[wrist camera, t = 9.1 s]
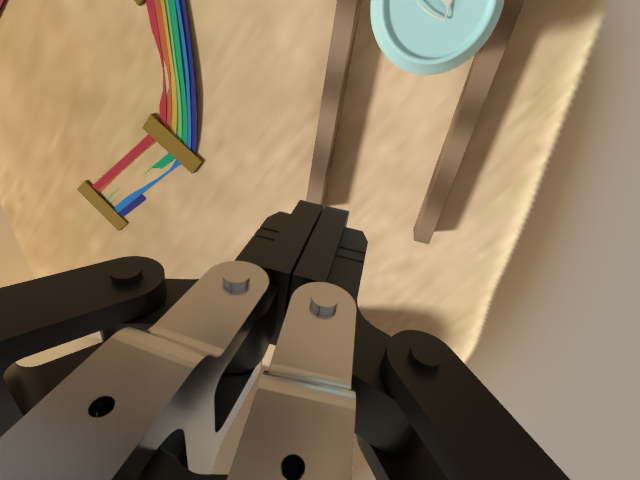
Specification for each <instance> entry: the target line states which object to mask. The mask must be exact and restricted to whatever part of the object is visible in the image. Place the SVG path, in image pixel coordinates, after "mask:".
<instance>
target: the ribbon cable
mask: <svg viewBox="0 0 640 480" xmlns="http://www.w3.org/2000/svg"><path fill="white" fill-rule="evenodd" d="M3 1H4V0H0V7H1V5H2V3H3ZM134 1H135V2H136V3H137V5H140V6H141V5H142V4H143V3H144V1H145V0H134ZM146 4H147V8H148V13H149V18H150V23H151V28H152V32H153V35H154V37H155V40H156V44H157V47H158V50H159V53H160V58H161V63H162V67H163V93H162V97H161V101H160V114H159V118H157V117H156V116H155V115H154V114H150V116H149V118H148V119H147V121H146V123H145V124H144V126H143V127H142V128H143V129H144V130H145V131H146V132H147V133H148V135H147V136H146V137H145V138H144V139H143V140H142V141H141V142H140V143H139V144H138V145H137V146H136V147H134V148H133V149H132V150H131V151H130V152H129V153H128V154H127V155H126V156H125V157H124V158H122V159H121V160H120V161H119V162H118V163H117V164H116V165H115V166H114V167H113V168H111V169H110V170H109V171H108V172H107V173H106V174H105V175H104V176H103V177H102V178H100V179H99V180H98V181H97V182H96V183H95V184H94V185H93V186H92V185H91V184H90V183H89V182H88V181H87V180H86V181H84V182H83V184H82V185H81V186H80V187H79V188H78V189H77V190H78V191H79V192H80V193H81V194H82V195H83V196H84V197H85V198H86V199H87V200H88V201H89V202H90V203H91V204H92V205H93V206H94V207H95V208H96V209H97V210H98V211H99V212H100V213H101V214H102V215H103V216H104V217H105V218H106V219H107V220H108V221H109V222H110V223H111V224H112V225H113V226H114V227H115V228H116V229H117V230H118V231H119V230H120V229H121V228H123V227H124V226H125V225H126V224H127V223H128V222H127V221H126V220H125V219H124V218H122V217H124V216H125V215H126V214H128V213H129V212H130V211H132V210H133V209H134V208H136V207H137V206H138V205H139V204H141V203H142V202H143V201H145V200H146V197H145V196H144V195H143V193H144V192H145V191H146V190H148V189H149V188H150V187H151V186H153V185H154V184H155V183H157V182H158V181H159V180H160V179H162V178H163V177H164V176H165V175H167V174H168V173H169V172H171V171H172V170H173V169H175V168H176V167H177V166H179V165H180V164H182V165H183V166H184V167H185V168H187V169H188V170H189V171H190V172H191V173H192V174H193V173H194V172H195V171H196V169H197V168H198V167H199V166H200V164H201V163H202V162H203V160H202V159H201V158H200V157H199V156H198V155H195V153H196V144H197V102H196V87H195V76H194V66H193V57H192V49H191V40H190V33H189V25H188V18H187V11H186V4H185V0H146ZM162 56H163V58H162ZM163 59H164V61H165V64H166V67H167V71H168V78H169V90H168V94H167V102H166V88H165V75H164V65H163ZM170 72H171V75H170ZM171 76H172V83H173V104H172V92H171ZM156 142H158V143H159V144H160V145H161V146H163V147H164V148H165V149H166V150H167V151H168V152H169V153H168V154H167V155H166V156H165V157H163V158H162V159H161V160H160V161H159V162H157V163H156V164H155V165H154V166H153V167H152V168H161V169H162V168H163V167H165V166H166V165H167V164H169V163H170V162H171V161H172V160H174V159H175V158H176V161H175V162H174V164H173V165H172V167H171V168H170V170H168V171H167V172H166V173H164V174H163V175H162V176H160V177H159V178H158V179H156V180H154V181H152V182H150V183H149V184H147V185H146V186H144V187H143V188H141V189H139V190H137V191H135V192H134V193H132V194H130V195H129V196H127V197H126V198H125V199H124V200H122V201H121V202H120V203H119V204H118V205H116V206H115V207H114V208H112V207H111V206H110V205H111V204H112V202H111V203H110V204H108V203H107V202H106V201H108V200H109V199H110V198H111V197H112V195H113V194H115V193H116V192H117V190H118V189H117V190H116V191H115V192H114V193H113V194H112V195H111V196H110V197H108V198H107V199H106V200H104V199H103V198H102V197H101V196H100V195H99V194H100V193H101V192H102V191H103V190H104V189H105V188H106V187H107V186H108V185H109V184H110V183H111V182H112V181H113V180H114V179H115V178H116V177H117V176H118V175H119V174H120V173H121V172H122V171H123V170H124V169H125V168H126V167H127V166H129V165H130V164H131V163H132V162H133V161H134V160H135V159H136V158H138V157H139V156H140V155H141V154H142V153H143V152H144V151H145V150H147V149H148V148H149V147H151V146H152V145H153V144H154V143H156ZM150 169H151V168H150ZM150 169H149V170H150ZM149 170H148V171H149ZM148 171H147V172H148ZM142 176H143V175H142ZM119 196H120V195H119Z"/></svg>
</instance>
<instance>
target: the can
mask: <svg viewBox="0 0 640 480" xmlns="http://www.w3.org/2000/svg"><path fill="white" fill-rule="evenodd" d="M503 5H504V0H371V7H370V14H371V24H372V29H373V33H374V36H375V39H376V41H377V43H378V45H379V47H380V49H381V50H382V52H383V53H384V55H385V56H386V57H387V58H388V59H389V60H390V61H391V62H392V63H393V64H395V65H396V66H397V67H399V68H401V69H403V70H405V71H407V72H410V73H414V74H420V75H433V74H439V73H443V72H446V71H449V70H451V69H454V68H456V67H458V66H459V65H461V64H463V63H464V62H466V61H467V60H468V59H470V58H471V57H472V56H473V55H474V54H475V53H477V52H478V51H479V49H480V48H481V47H482V46H483V45H484V44H485V42H486V41H487V40H488V38H489V37H490V35H491V34H492V32H493V30H494V28H495V27H496V24H497V22H498V20H499V17H500V15H501V12H502V8H503Z"/></svg>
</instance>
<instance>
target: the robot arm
mask: <svg viewBox="0 0 640 480" xmlns="http://www.w3.org/2000/svg"><path fill="white" fill-rule="evenodd" d="M348 216H349V211H346V210H341V209H337V208H333V207H329V206H325V208H324V205H320V204H316V203H311V202H307V201H303V200H300V201H299V202H298V204H297V206H296V207H295V209H294V210H293V212H292V213H291V214H288V213H284V212H278V213H276V214H274V215H272V216H270V217H268V218H267V219H266V220H265V221H264V223H263V224H262V225H261V226H260V229H258V230H257V232H256V233H255V235H254V236H253V237H252V238H251V240H250V241H249V242H248V244H247V245H246V246H245V248H244V249H243V250H242V252H241V253H240V254H239V255H238V257H237V258H236V259H235V261H228V262H224V263H220V264H218V265H215V266H214V267H212V268H211V269H209V270H208V271H207V272H206V273H205V274H204V275H203V276H202V277H201V278H200V279H165V273H164V269H163V266H162V265H161V264H160V263H159V262H157V261H155V260H153V259H150V258H147V257H140V256H129V257H122V258H117V259H113V260H109V261H105V262H102V263H98V264H94V265H90V266H86V267H82V268H78V269H74V270H70V271H66V272H62V273H58V274H54V275H50V276H46V277H42V278H38V279H34V280H31V281H27V282H22V283H18V284H14V285H10V286H7V287H2V288H0V480H352V466H353V448H354V433H356V435H357V441H358V445H359V447H360V449H361V451H362V453H363V455H364V457H365V459H366V461H367V463H368V464H369V466H370V468H371V470H372V472H373V474H374V476H375V478H376V480H570V479H569V478H568V477H567V476H566V475H565V474H564V472H563V471H562V470H561V469H560V468H559V467H558V466H557V465H556V464H555V463H554V461H553V460H552V459H551V458H550V457H549V456H548V455H547V454H546V453H545V452H544V450H543V449H542V448H540V446H539V445H538V444H537V443H536V442H535V441H534V440H533V438H532V437H531V436H530V435H529V434H528V433H527V432H526V431H525V430H524V429H523V427H522V426H521V425H520V424H519V423H518V422H517V421H516V420H515V419H514V418H513V417H512V415H511V414H510V413H509V412H508V411H507V410H506V409H505V408H504V407H503V406H502V404H500V402H499V401H498V400H497V399H496V398H495V397H494V396H493V395H492V394H491V393H490V392H489V390H488V389H487V388H486V387H485V386H484V385H483V384H482V383H481V381H480V380H479V379H478V378H477V377H476V376H475V375H474V374H473V373H472V372H471V371H470V370H469V368H468V367H467V366H466V365H465V364H464V363H463V362H462V361H461V360H460V358H459V357H458V356H457V355H456V354H455V353H454V352H453V351H452V350H451V349H450V348H449V347H448V346H447V345H446V344H445V343H444V342H442V341H441V340H440V339H438V338H436V337H435V336H432V335H430V334H428V333H425V332H421V331H416V330H405V331H401V332H399V333H396V334H395V335H393V336H392V337H391V336H389V335H388V334H386V333H384V332H382V331H380V330H379V329H377V328H375V327H374V326H372V325H371V324H370V323H369V322H368V321H367V320H366V319H365V318H364V317H363V316H362V314H361V313H360V311H359V308H358V305H357V296H358V291H359V286H360V280H361V275H362V270H363V265H364V259H365V254H366V249H367V244H368V241H367V239H366V237H365V235H364V233H363V231H359V230H355V229H351V228H347V227H346V225H347V221H348ZM98 331H100V334H101V337H102V341H103V342H101V343H98V344H96V345H93V346H90V347H88V348H85V349H82V350H79V351H77V352H74V353H71V354H69V355H66V356H64V357H61V358H58V359H55V360H53V361H50V362H47V363H45V364H42V365H39V366H35V367H22V366H19V365H17V364H16V363H15V362H16V361H18V360H20V359H22V358H24V357H27V356H30V355H33V354H35V353H38V352H41V351H44V350H47V349H50V348H52V347H55V346H58V345H61V344H64V343H66V342H69V341H72V340H75V339H78V338H81V337H84V336H86V335H89V334H92V333H95V332H98ZM269 344H273V345H276V347H275V351H274V354H273V357H272V360H271V363H270V366H269V369H268V371H264V373H263V374H262V376H261V379H260V381H259V385H258V387H257V390H256V393H255V396H254V399H253V402H252V405H251V408H250V411H249V414H248V417H247V420H246V423H245V426H244V429H243V432H242V435H241V438H240V441H239V444H238V447H237V450H236V453H235V456H234V459H233V462H232V465H231V468H230V471H229V474H228V475H214V474H211V472H212V469H213V467H214V464H215V460H216V456H217V453H218V450H219V447H220V445H221V442H222V440H223V438H224V436H225V434H226V432H227V431H228V429H229V427H230V425H231V423H232V421H233V420H234V418H235V416H236V414H237V412H238V410H239V408H240V406H241V405H242V403H243V401H244V399H245V397H246V395H247V394H248V392H249V390H250V388H251V386H252V384H253V382H254V380H255V379H256V377H257V375H258V373H259V371H260V369H261V364H262V359H263V357H264V355H265V353H266V350H267V348H268V346H269Z"/></svg>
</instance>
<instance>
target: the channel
mask: <svg viewBox="0 0 640 480" xmlns="http://www.w3.org/2000/svg"><path fill="white" fill-rule="evenodd" d="M523 2H524V0H504V5H503V8H502V12H501V15H500V17H499V20H498V22H497V24H496V27H495V28H494V30H493V32H492V34H491V35H490V37H489V38H488V40H487V41H486V42H485V44H484V45H483V46H482V47H481V48H480V49H479V51H478V52H477V53H476V54H475V57H474V59H473V62H472V65H471V68H470V71H469V74H468V76H467V79H466V82H465V85H464V88H463V91H462V93H461V96H460V99H459V102H458V105H457V108H456V110H455V113H454V116H453V119H452V122H451V125H450V127H449V130H448V133H447V136H446V139H445V142H444V144H443V147H442V150H441V153H440V156H439V159H438V161H437V164H436V167H435V170H434V173H433V176H432V179H431V181H430V184H429V187H428V190H427V193H426V196H425V198H424V201H423V204H422V207H421V210H420V213H419V215H418V218H417V221H416V224H415V227H414V241H418V242H422V243H426V244H429V243H430V240H431V238H432V235H433V232H434V230H435V227H436V225H437V222H438V220H439V217H440V214H441V212H442V209H443V207H444V204H445V202H446V199H447V197H448V194H449V191H450V189H451V186H452V184H453V181H454V179H455V176H456V173H457V171H458V168H459V166H460V163H461V161H462V158H463V156H464V153H465V150H466V148H467V145H468V143H469V140H470V138H471V135H472V132H473V130H474V127H475V125H476V122H477V120H478V117H479V115H480V112H481V109H482V107H483V104H484V102H485V99H486V97H487V94H488V91H489V89H490V86H491V84H492V81H493V79H494V76H495V74H496V71H497V68H498V66H499V63H500V61H501V58H502V56H503V53H504V50H505V48H506V45H507V43H508V40H509V38H510V35H511V33H512V30H513V27H514V25H515V22H516V20H517V17H518V15H519V12H520V10H521V7H522V4H523ZM360 5H361V0H337V5H336V11H335V18H334V24H333V31H332V37H331V44H330V50H329V57H328V63H327V70H326V76H325V83H324V89H323V95H322V102H321V108H320V115H319V121H318V128H317V134H316V141H315V147H314V154H313V160H312V167H311V173H310V179H309V186H308V192H307V199H306V201H307V202H311V203H316V204H320V205H324V200H325V194H326V189H327V183H328V178H329V173H330V167H331V162H332V156H333V151H334V146H335V140H336V135H337V129H338V124H339V119H340V113H341V108H342V102H343V97H344V92H345V86H346V81H347V75H348V70H349V65H350V59H351V54H352V49H353V43H354V38H355V32H356V27H357V22H358V16H359V11H360Z"/></svg>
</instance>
